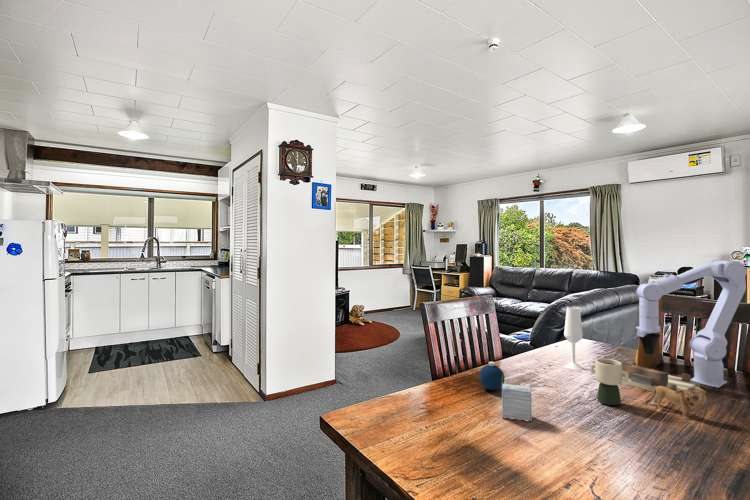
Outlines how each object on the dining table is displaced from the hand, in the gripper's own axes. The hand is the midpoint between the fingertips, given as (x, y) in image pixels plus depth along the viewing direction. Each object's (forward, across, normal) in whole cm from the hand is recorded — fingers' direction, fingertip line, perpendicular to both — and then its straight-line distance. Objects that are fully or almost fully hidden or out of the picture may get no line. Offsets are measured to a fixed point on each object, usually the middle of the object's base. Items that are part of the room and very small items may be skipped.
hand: (649, 353), depth 136 cm
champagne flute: (+10, +9, -23) cm, 26 cm away
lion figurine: (+10, +25, +16) cm, 31 cm away
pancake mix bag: (+10, -19, -7) cm, 22 cm away
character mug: (+10, +34, +2) cm, 35 cm away
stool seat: (+9, +3, +2) cm, 10 cm away
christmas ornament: (+10, +55, -26) cm, 62 cm away
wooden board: (+8, +8, +1) cm, 11 cm away
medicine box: (+10, +66, -8) cm, 67 cm away
